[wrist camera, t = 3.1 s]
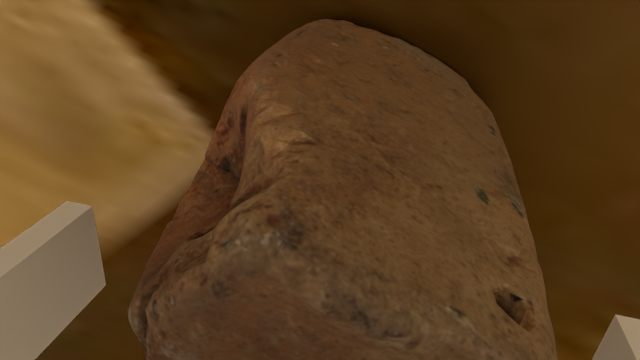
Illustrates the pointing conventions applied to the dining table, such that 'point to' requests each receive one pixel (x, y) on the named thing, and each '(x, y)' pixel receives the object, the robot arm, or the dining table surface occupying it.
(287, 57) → the brown river rock
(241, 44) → the dining table surface
